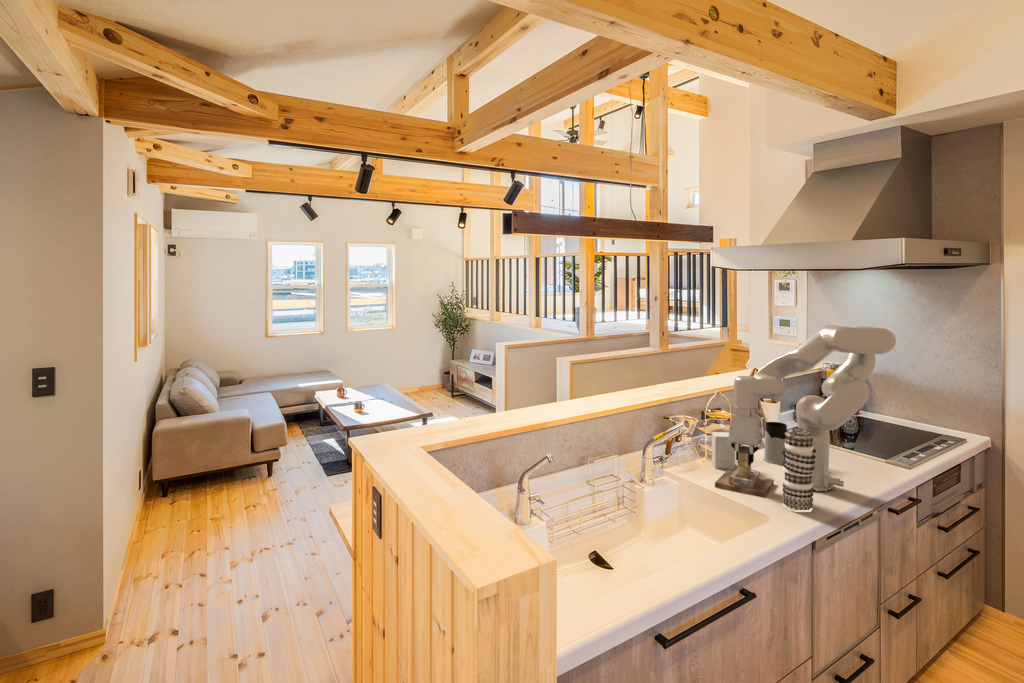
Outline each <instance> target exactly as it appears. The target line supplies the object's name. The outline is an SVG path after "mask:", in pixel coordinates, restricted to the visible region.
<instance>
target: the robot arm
mask: <svg viewBox="0 0 1024 683" xmlns="http://www.w3.org/2000/svg"><path fill="white" fill-rule="evenodd" d="M896 344H897V339H896V336H895V334H894V333H893V332H892V331H891V330H889V329H887V328H884V327H883V328H882V327H877V326H876V327H874V326H865V325H863V326H862V325H861V326H860V325H859V326H856V327H851V326H841V325H834V324H833V325H830V324H828V325H825V326H823V327H821V328H820V329H818V330H817V331H816V332H814V333H813V334H812V335H810V336H809V337H808V338H807V339H805V340H804V341H803V342H802V343H800V344H799V345H798V346H796V347H795V348H794V349H793V350H791V351H789V352H786V353H785V354H783V355H782V356H781V355H780V356H779V357H776V358H775V359H773V360H772V361H770V362H768V363H767V364H766V365H764V366H763V367H761V368H760V369H759V370H758V371H756V372H755V373H754V374H753V375H752V376H751V375H738V376H736V377H735V378H734V381H733V383H734V384H733V385H734V386H733V388H734V389H733V413H732V414H731V418H730V420H729V421H730V422H729V430H728V432H729V436H728V437H727V439H726V441H725V442H726V443H728V444H729V445H731V446H732V447H733V448H734V449H735V460H736V461H737V464H738V449H739V448H740V447H741V446H742V445H744V446H748V447H749V454H748V465H751V466H752V463H754V458H755V457H754V456H755V453H756V452H757V451H759V450H763V449H765V441H764V440H763V427H762V426H763V425H762V420H761V419H762V418H761V416H760V415H763V410H762V409H759V407H758V406H759V404H758V403H759V398H760V399H769V400H774V399H775V400H776V399H779V398H781V397H783V396H784V395H785V392H786V385H785V383H784V381H782V380H783V379H784V378H785V377H788V376H791V375H794V374H798V373H804V372H808V371H811V370H813V369H814V368H816V367H817V366H818V365H819V364H821V363H822V362H823V361H824V360H826V359H827V358H829V356H831V355H832V354H833V353H835V352H838V353H844V354H846V353H847V357H846V359H845V360H844V361H843V362H842V363H841V364H840V365H839V366H838V367H837V368H836V369H835V370H834V371H833V372H832V373H831V374H830V375H829V376H827V378H825V380H824V381H823V382H822V385H821V392H822V394H823V395H824V396H825V397H827V398H825V397H821V396H819V395H815V394H814V395H812V394H809V395H805V396H803V397H801V398H800V399H799V400H798V401H797V403H796V405H795V406H796V407H795V417H796V422H797V423H796V424H797V428H803V429H807V430H809V431H810V432H811V433H812V434H813V435H814V436H815V437H813V446H814V449H815V450H816V452H815V453H813V452H812V455H814V456H815V457H816V458H815V459H812V460H814V461H815V464H812V466H813V467H814V468H815V469H814V470H813V471H814V474H813V475H812V483H813V485H812V487H813V489H814V490H816V491H815V492H817V491H826V490H831V489H832V490H833V489H834V486H837V487H841V488H843V487H844V484H845V483H844V482H845V481H844V480H841V478H836V477H832V476H831V473H830V470H829V467H830V466H829V465H830V443H831V442H830V440H831V437H830V431H834V430H837V429H839V428H841V427H842V426H843V425H844V424H846V423H847V422H848V421H849V420H850V419H851V418H852V417H853V416H854V415H855V414H856V413H857V412H858V411H859V410H860V409H861V408H863V406H864V405H865V404H866V403H867V402H868V400H869V397H870V388H869V385H868V383H867V382H866V380H867V379H868V378H869V377H870V376H871V375H872V373H873V372H874V369H875V367H876V355H884V354H887V353H889V352H892V350H893V349H894V348H895V346H896ZM832 490H831V491H832ZM826 492H827V491H826Z"/></svg>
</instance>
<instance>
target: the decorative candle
mask: <svg viewBox="0 0 1024 683" xmlns="http://www.w3.org/2000/svg"><path fill="white" fill-rule="evenodd" d="M785 434H786V441H785V445H784V446H782V450H783V452H782V454H783V456H784V457H783V461H784V462H783V464H782V466H783V468H782V471H783V472H784V477H783V483H782V495H781V496H782V497H781V498H782V499H781V501H782V505H783V506H784V507H786V508H790V509H794V510H809V509H810V508H813V507H814V498H813V496H814V491H813V490H814V489H813V487H812V485H813V483H812V475H813V474H814V471H813V470H814V469H815V468H814V467H813V466H812V464H815V461H814V460H812V459H815V458H816V457H815V456H814V455H812V452H813V453H815V452H816V450H815V449H814V446H813V437H815V436H814V435H813V434H812V433H811V432H810V431H809V430H807V429H803V428H798V427H792V428H788V430H787V432H785ZM785 448H786V449H785ZM785 452H786V454H784V453H785ZM785 459H786V460H785ZM783 506H782V507H783ZM784 507H783V508H784Z"/></svg>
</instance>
